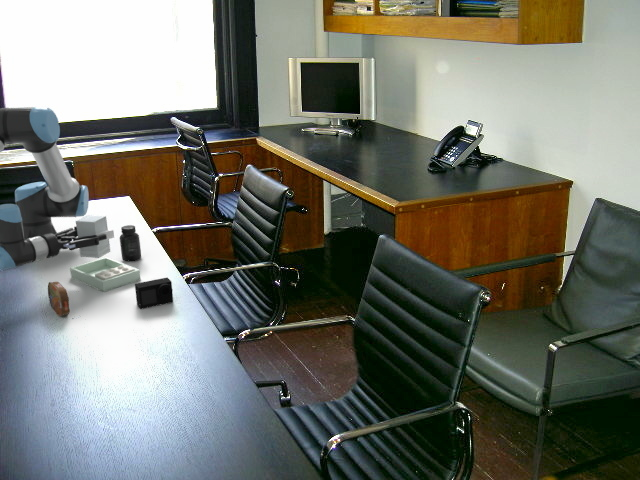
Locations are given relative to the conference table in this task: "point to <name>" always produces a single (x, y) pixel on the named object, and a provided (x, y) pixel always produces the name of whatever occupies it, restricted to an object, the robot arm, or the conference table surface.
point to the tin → (58, 298)
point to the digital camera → (154, 292)
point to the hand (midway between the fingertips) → (104, 230)
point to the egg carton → (113, 272)
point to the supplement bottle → (130, 244)
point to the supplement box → (91, 227)
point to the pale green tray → (88, 271)
